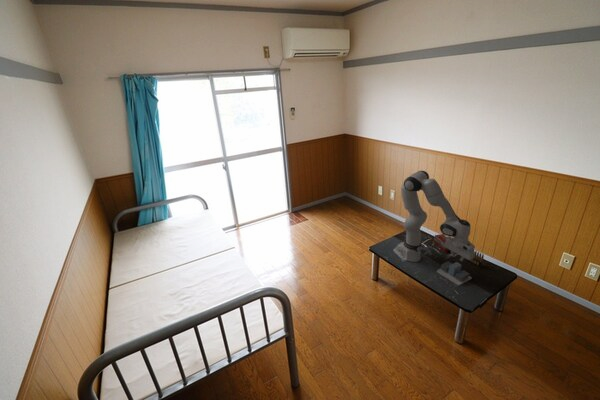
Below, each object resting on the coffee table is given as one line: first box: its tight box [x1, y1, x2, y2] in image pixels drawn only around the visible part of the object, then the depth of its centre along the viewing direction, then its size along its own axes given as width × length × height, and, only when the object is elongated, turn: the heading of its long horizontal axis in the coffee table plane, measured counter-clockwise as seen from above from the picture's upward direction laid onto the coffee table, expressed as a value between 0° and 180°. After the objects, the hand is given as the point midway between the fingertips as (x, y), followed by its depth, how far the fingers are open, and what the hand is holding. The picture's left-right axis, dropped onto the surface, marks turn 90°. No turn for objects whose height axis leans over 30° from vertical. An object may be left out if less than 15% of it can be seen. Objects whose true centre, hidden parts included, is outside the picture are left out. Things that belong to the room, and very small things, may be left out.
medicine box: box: [433, 233, 451, 253], centre depth 237 cm, size 15×8×8 cm, turn 11°
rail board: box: [436, 261, 473, 287], centre depth 205 cm, size 18×14×6 cm
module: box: [448, 261, 463, 276], centre depth 204 cm, size 4×8×7 cm, turn 117°
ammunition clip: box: [466, 250, 485, 269], centre depth 213 cm, size 11×2×12 cm, turn 28°
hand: (457, 258), depth 200 cm, fingers open, 5 cm apart
